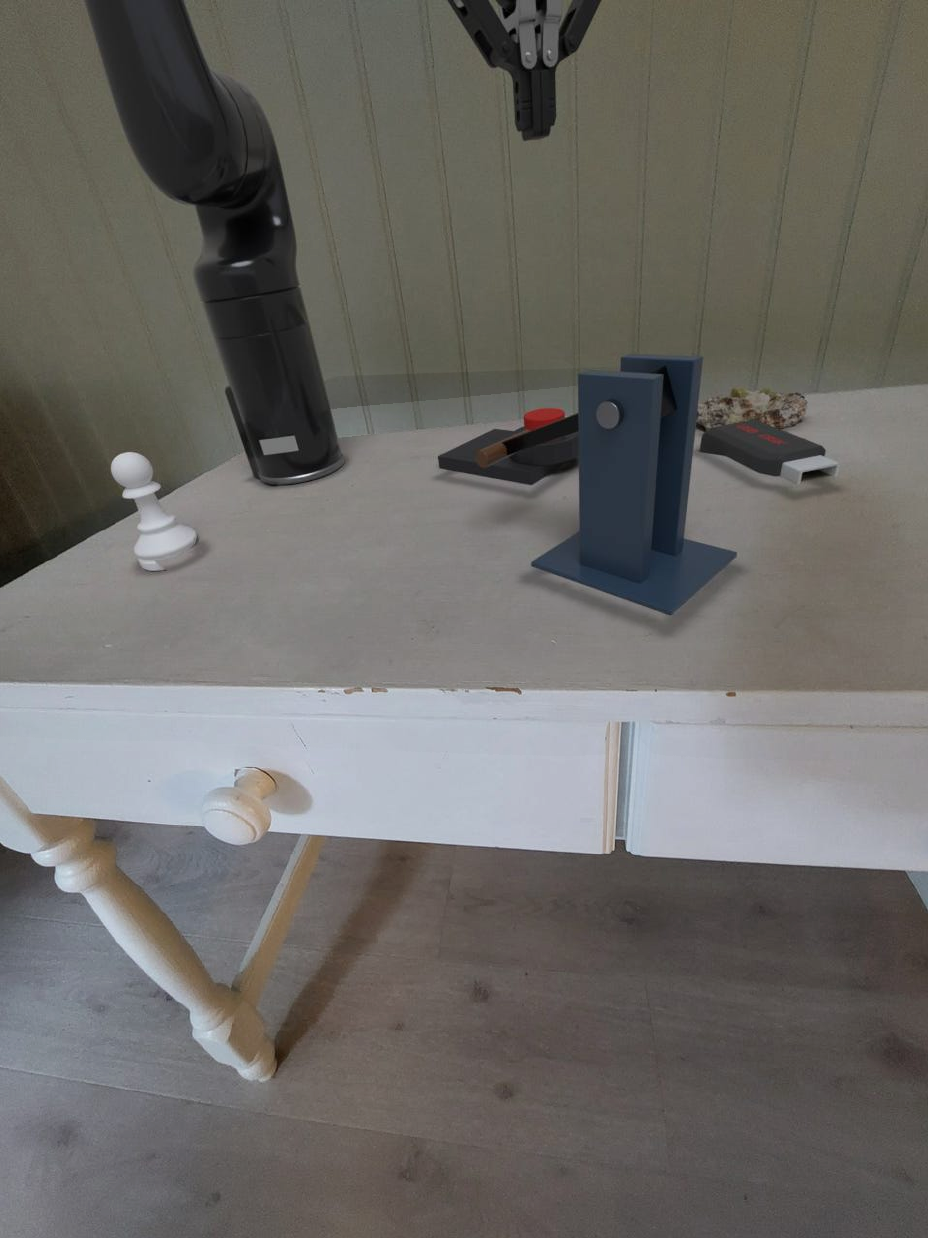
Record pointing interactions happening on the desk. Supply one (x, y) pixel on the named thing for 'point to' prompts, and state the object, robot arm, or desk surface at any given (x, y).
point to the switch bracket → (637, 487)
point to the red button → (542, 417)
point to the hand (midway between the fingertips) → (535, 137)
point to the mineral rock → (752, 408)
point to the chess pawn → (150, 513)
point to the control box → (512, 458)
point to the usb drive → (767, 450)
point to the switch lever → (558, 429)
